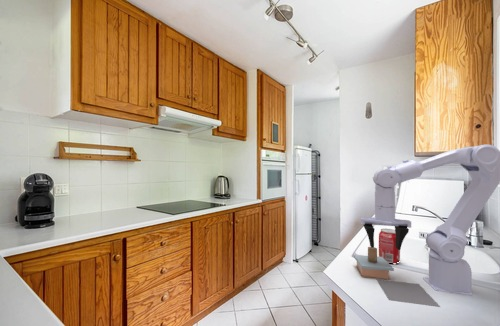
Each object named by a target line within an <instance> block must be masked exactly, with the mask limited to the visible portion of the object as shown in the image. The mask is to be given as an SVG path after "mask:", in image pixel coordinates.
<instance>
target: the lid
mask: <svg viewBox="0 0 500 326" xmlns="http://www.w3.org/2000/svg"><path fill="white" fill-rule="evenodd" d="M353 258H354V259H355V261H356V263H357V262H358V264H359V265H360V267H361V268H363V269H375V270H386V271H389V272H394V271H395V268H394V267H393V266H392V264H389V263H388V262H387V261H386V260H385V259H384V258H383V257H379V256H378V247H375V246H374V248H372V247H371V246H368V247H367V255H364V254H363V255H361V254H360V255H359V254H353Z"/></svg>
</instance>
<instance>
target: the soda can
mask: <svg viewBox="0 0 500 326" xmlns="http://www.w3.org/2000/svg"><path fill="white" fill-rule="evenodd" d="M378 257H383V258H384V259H385V260H386V261H387V262H388V263H397V262H399V261H400V260H401V249H400V250H398V249H397V248H396V233H395V229H392V228H381V229H380V231H379V232H378ZM399 263H400V262H399Z"/></svg>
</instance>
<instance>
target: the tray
mask: <svg viewBox="0 0 500 326" xmlns="http://www.w3.org/2000/svg"><path fill="white" fill-rule="evenodd" d="M356 268H357V270H358V272H359V273H360V275H361V277H367V278H375V279H381V280H390V271H386V270H375V269H363V268H361V267H360V265H359V264H358V262H357V261H356Z"/></svg>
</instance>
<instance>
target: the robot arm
mask: <svg viewBox="0 0 500 326" xmlns="http://www.w3.org/2000/svg"><path fill="white" fill-rule="evenodd" d="M450 164H454V165H455V164H456V165H457V164H459V165H460V166H461V167H462V169H464V170H465V171H467V173H468V174H469V176H470V178H471V181H470V183H469V185H468V186H467V187H466V189H465V190H464V192H463V194H462V195H461V197H460V198H459V200H458V201H457V203H456V204H455V206H454V208H453V209H452V211H451V212H450V213H449V215H448V217H447V219H446V220H445V221H444V223H442V224H440V225H438V226H436V228H435V229H434V230H433V231H431V232H429V233H427V235H426V237H425V243H426V245H427V247H428V248H429V251H428V277H422V279H423V280H424V281H425V282H426V283H427V284H428V285H429V286H430V287H431V288H432V289H433V290H434V291H437V292H444V293H453V294H460V295H470V296H474V292H472V289H473V288H472V279H473V278H472V276H473V275H472V273H473V272H472V268H471V265H470V264H469V262H468V261H467V260H465V259H463V257H464V256H465V249H466V248H465V247H466V246H467V244H468V239H467V236H466V234H467V232H469V231H468V230H470V228H471V226H472V225H473V223H474V222H475V221H476V219H477V217H478V216H479V214H480V213H481V211H482V210H483V209H484V207H485V206H486V204H487V202H488V201H489V199H490V198H491V196H492V195H493V193H494V192H495V190H496V189H497V188H498V186H499V184H500V150H499V148H498V147H497V146H494V145H493V144H481V145H474V146H465V147H462V148H457V149H456V148H455V149H451V150H447V151H445V152H441V153H440V154H436V155H433V156H431V157H429V158H425V159H422V160H420V161H417V160H413V159H411V160H409V159H404V160H402V162H401V163H398V164H394V165H388V166H387V168H385V169H379V170H377V171H376V172H375V173H374V174H373V177H372V181H373V183H374V184H375V185H374V189H375V190H374V217H360V218H359V223H360V225H362V226H363V228H364V229H365V232H366V235H367V238H368V241H369V247H372V248H374V247H375V228H374V226H386V227H387V226H388V227H394V230H395V233H396V248H397V249H398V250H400V251H401V248H402V244H403V242H404V240H405V238H406V236H407V235H408V234H409V230H410V229H409V228H412V221H411V220H408V219H400V218H396V192H395V191H396V190H395V187H396V185H397V184H401V183H404V182H408V181H410V180H414V179H417V178H420V177H422V175H423V172H425V171H429V170H433V169H436V168H439V167H440V168H441V167H443V166H446V165H450Z"/></svg>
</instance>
